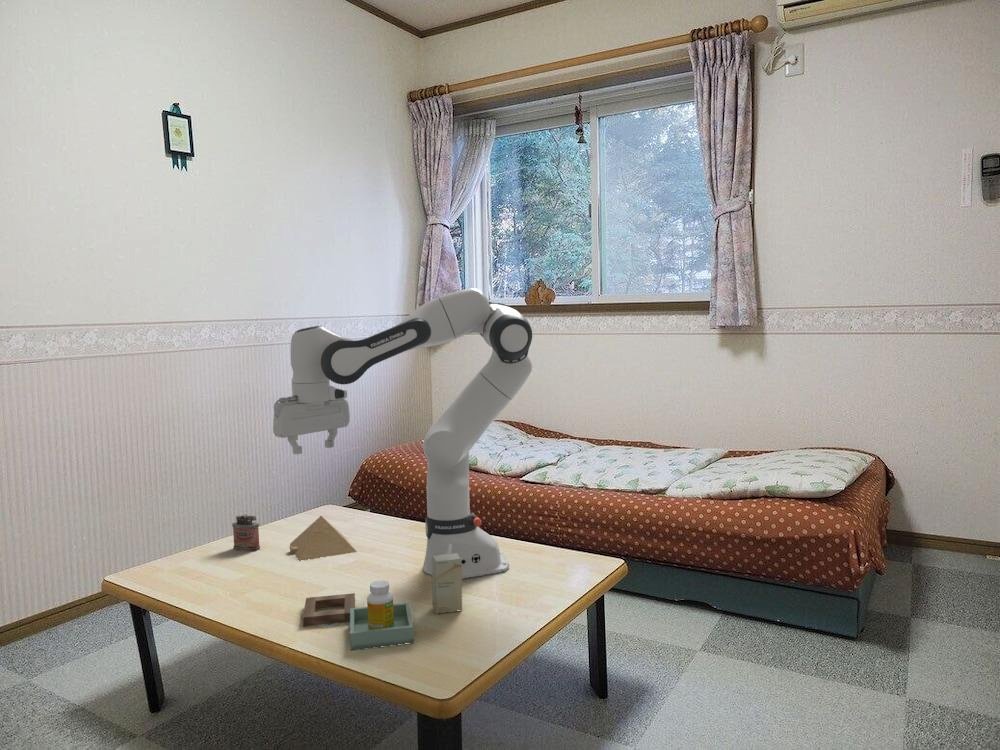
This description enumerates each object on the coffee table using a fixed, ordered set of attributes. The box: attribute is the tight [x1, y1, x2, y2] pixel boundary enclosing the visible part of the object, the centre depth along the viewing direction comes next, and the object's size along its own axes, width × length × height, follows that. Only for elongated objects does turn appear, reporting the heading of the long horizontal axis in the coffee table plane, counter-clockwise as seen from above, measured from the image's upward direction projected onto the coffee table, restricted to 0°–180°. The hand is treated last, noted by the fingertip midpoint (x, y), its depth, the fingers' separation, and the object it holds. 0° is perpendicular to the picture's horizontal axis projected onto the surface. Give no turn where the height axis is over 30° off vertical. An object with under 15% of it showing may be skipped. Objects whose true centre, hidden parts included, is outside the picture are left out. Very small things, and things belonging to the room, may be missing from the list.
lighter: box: [231, 513, 261, 552], centre depth 208 cm, size 8×3×10 cm, turn 76°
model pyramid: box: [289, 515, 358, 562], centre depth 207 cm, size 17×17×10 cm
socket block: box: [302, 592, 356, 628], centre depth 162 cm, size 11×11×2 cm
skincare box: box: [431, 553, 463, 615], centre depth 163 cm, size 6×4×12 cm
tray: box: [349, 602, 415, 651], centre depth 152 cm, size 13×13×4 cm
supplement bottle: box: [366, 580, 394, 630], centre depth 151 cm, size 5×5×10 cm
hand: (313, 450), depth 175 cm, fingers open, 8 cm apart
